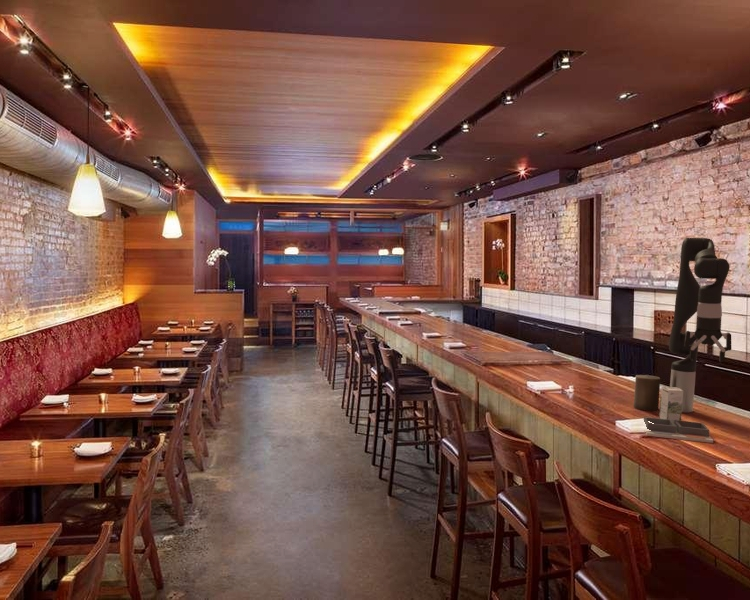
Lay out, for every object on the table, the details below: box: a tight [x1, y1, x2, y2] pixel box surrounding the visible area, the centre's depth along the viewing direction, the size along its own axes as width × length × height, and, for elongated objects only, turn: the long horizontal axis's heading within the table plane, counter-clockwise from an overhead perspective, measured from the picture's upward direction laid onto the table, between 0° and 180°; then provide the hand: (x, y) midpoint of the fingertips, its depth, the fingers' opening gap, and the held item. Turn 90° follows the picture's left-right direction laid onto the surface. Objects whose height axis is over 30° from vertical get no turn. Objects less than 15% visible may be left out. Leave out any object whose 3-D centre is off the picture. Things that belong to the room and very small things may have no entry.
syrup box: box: [658, 386, 683, 423], centre depth 225 cm, size 6×6×14 cm
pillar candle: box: [633, 373, 661, 412], centre depth 250 cm, size 10×10×15 cm
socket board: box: [642, 416, 714, 444], centre depth 214 cm, size 14×21×4 cm, turn 73°
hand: (706, 361), depth 206 cm, fingers open, 8 cm apart
